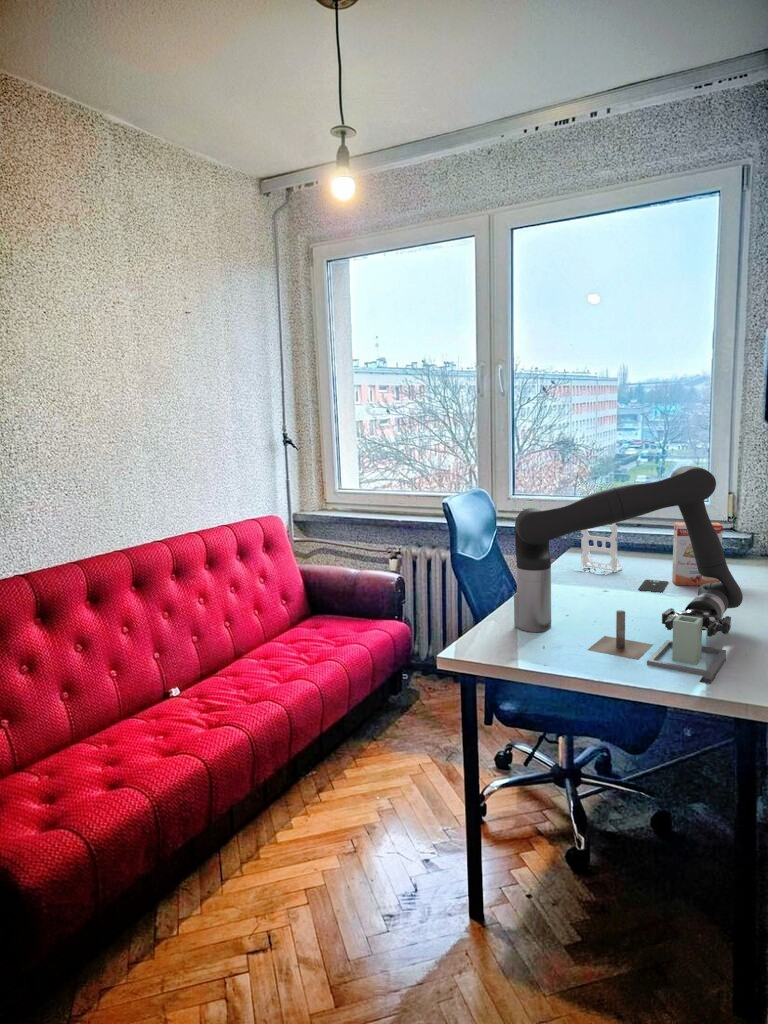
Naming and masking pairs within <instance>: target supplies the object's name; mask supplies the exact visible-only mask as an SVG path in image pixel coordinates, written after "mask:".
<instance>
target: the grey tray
mask: <svg viewBox="0 0 768 1024" xmlns="http://www.w3.org/2000/svg"><path fill="white" fill-rule="evenodd" d="M672 645H673V640H669V639H666V640H665V641H664V642H663V643H662V644H661V646H660V647H658V648H657V649H656V650H655V651H654V653H653V654H652V655H651V656H650V657H649V658H648V659H647V660H646V665H647V666H651V667H656V668H660V669H665V670H669V671H676V672H681V673H686V674H690V675H696V676H700V677H701V678H700V680H699V683H703V684H708V685H711V684H712V683H713V681H714V680H715V678H716V676H717V675H718V673H719V672H720V670H721V668H722V667H723V666H724V664H725V662H726V659H727V649H721V648H714V647H711V646H702V653H708V654H713V655H716V656H715V657H714V659H713V661H712V662H711V663H710V665H709V667H708V668H707V669H702V668H696V667H691V666H686V665H680V664H676V663H670V662H665V661H659V659H660V658H661V657H662V655H663V654H664V653H665V652H666V651H667V650H668V649H669V648H670V647H672Z"/></svg>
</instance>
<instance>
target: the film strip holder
mask: <svg viewBox="0 0 768 1024" xmlns="http://www.w3.org/2000/svg"><path fill="white" fill-rule="evenodd" d="M616 524H617V523H613V524H609V525H604V526H603V527H609V529H610V530H611V534H610V536H609V537H606V536H598V535H596V536H595V535H591V534H590V532H589V531H588V530H589V529H586V530H580V532H581V535H582V537H581V539H580V541H581V542H580V543H581V546H580V547H581V548H580V549H581V550H582V552H581V557H580V558H581V559H580V560H581V561H580V562H581V563H580V564H581V567H582V566H583V567H584V566H585V567H592V568H591V569H594V568H599V569H600V570H602V569H603V570H611V571H612V572H614V571H616V572H614V573H618V572H617V571H619V570H623V567H622V566H621V563H620V558H619V555H618V541H616V540H617V538H618V525H616ZM590 540H591V541H593V545H590V544H589V541H590ZM598 541H599V542H601V547H600V546H598ZM606 542H608V543H610V546H609V547H607V545H606ZM591 551H593V552H601V553H608V554H609V556H610V558H611V560H610V561H609V563H608V562H607V563H606V562H599V561H593V559H592V555H591ZM593 564H595V565H596V564H597V566H595V565H593ZM590 565H592V566H590ZM601 565H603V566H605V567H601ZM608 566H611V568H610V567H608ZM581 567H578V568H574V570H576V569H579V568H581ZM621 568H622V569H621ZM585 570H586V571H588V569H585ZM595 572H596V571H594V572H593V573H595ZM612 572H609V573H611V574H613V573H612ZM619 572H620V571H619ZM606 573H607V574H609V573H608V572H606ZM605 575H606V574H605ZM605 575H604V576H605ZM609 575H610V574H609ZM606 576H607V575H606Z"/></svg>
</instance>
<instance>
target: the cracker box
mask: <svg viewBox="0 0 768 1024" xmlns="http://www.w3.org/2000/svg"><path fill="white" fill-rule="evenodd" d="M711 523H712V525H713V527H714V529H715V531H716V533H717V535H718V537H719V540H720V542H721V545H722V546H723V527H724V526H723V524H720V523H719V522H711ZM672 543H673V544H672V547H673V548H672V549H673V550H672V573H671V574H672V575H671V576H672V578H671V579H672V580H671V581H672V582H673V583H674V585H675V586H700V585H703V584H707V583H718V582H720V581H719V580H718V579H716V578H711V577H704V576H702V575H700V573H699V571H698V568H697V564H696V560H695V556H694V552H693V548H692V544H691V541H690V537H689V534H688V531H687V528H686V525H685V522H673V542H672Z"/></svg>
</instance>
